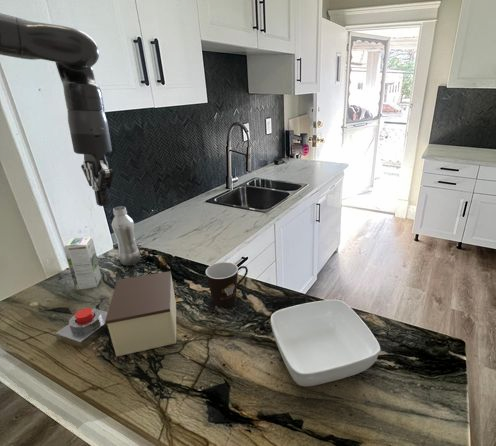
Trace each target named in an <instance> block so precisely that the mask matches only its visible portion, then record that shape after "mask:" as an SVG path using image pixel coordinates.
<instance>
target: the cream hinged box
mask: <svg viewBox="0 0 496 446" xmlns="http://www.w3.org/2000/svg"><path fill="white" fill-rule="evenodd" d="M107 325H108V333H109V335H110V340H111V343H112V346H113V349H114V353H115V357H120V356H125V355H129V354H133V353H138V352H144V351H147V350H152V349H156V348H162V347H165V346H170V345H175V344H177V302H176V295H175V289H174V283H173V277H172V275H171V298H170V312H166V313H160V314H155V315H150V316H145V317H140V318H135V319H130V320H125V321H119V322H114V323H109V324H107Z"/></svg>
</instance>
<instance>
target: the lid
mask: <svg viewBox="0 0 496 446" xmlns="http://www.w3.org/2000/svg"><path fill="white" fill-rule="evenodd" d="M171 276H172V272H171V270H169V271H163V272H157V273H151V274H143V275H137V276H132V277H131V276H130V277H125V278H119V279H117V280H116V283H115V286H114V290H113V294H112V296H111V299H110V304H109V307H108V310H107V312H108V313H107V316H106V320H105V323H106V324H109V323H114V322H119V321H125V320H130V319H135V318H140V317H145V316H150V315H155V314H160V313H166V312H170V298H171Z"/></svg>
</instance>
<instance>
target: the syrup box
mask: <svg viewBox="0 0 496 446" xmlns="http://www.w3.org/2000/svg"><path fill="white" fill-rule="evenodd" d="M63 250H64V254H65V257H66V260H67V264H68V267H69V271H70V275H71V277H72V282H73V284H74V288H75V291H79V290H86V289H87V290H88V289H92V288H98V286H99V284H100V283H101V280H102V277H103V275H102V271H101V267H100V263H99V260H98V256H97V255H98V254H97V251H96V248H95V243H94V239H93V237H92V236H80V237H73V238H70V239H69V240H68V241H67V243H66V244H65V245H64V246H63Z"/></svg>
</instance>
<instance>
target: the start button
mask: <svg viewBox="0 0 496 446" xmlns="http://www.w3.org/2000/svg"><path fill="white" fill-rule="evenodd" d="M74 315H75V318H76V321H77V323H78V324H82V323H86V322H89V321H91V320H92V319H93V318H94V314H93V310H92V308H89V307H87V308H83V309H80V310H78V311H77V312H76V313H75V314H74Z"/></svg>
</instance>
